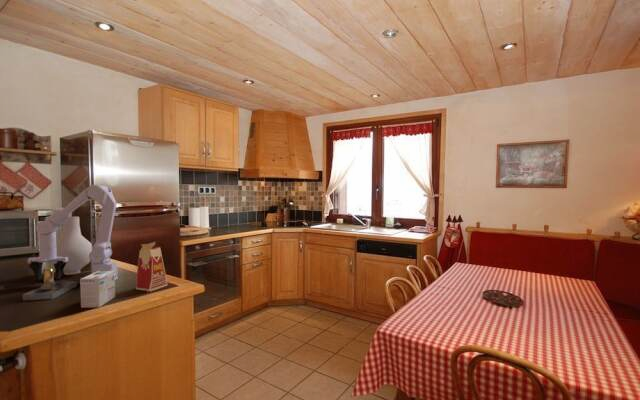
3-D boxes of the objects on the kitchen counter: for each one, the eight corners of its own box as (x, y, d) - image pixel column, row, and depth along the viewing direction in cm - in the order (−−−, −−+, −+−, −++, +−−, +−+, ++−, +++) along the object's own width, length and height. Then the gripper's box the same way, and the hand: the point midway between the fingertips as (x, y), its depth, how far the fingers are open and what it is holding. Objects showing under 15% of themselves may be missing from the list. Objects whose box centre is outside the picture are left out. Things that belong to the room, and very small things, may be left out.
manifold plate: (76, 286, 138) (76, 281, 138) (52, 299, 122) (52, 293, 122) (50, 287, 137) (50, 282, 136) (22, 300, 121) (22, 294, 121)
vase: (42, 275, 154) (41, 217, 153) (79, 267, 169) (78, 215, 168) (64, 279, 148) (62, 219, 147) (100, 270, 163) (99, 216, 162)
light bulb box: (98, 297, 125) (97, 270, 124) (116, 297, 125) (115, 270, 125) (79, 308, 114) (79, 278, 114) (99, 307, 115) (99, 278, 114)
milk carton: (167, 285, 141) (167, 240, 140) (150, 291, 132) (149, 244, 131) (151, 283, 144) (151, 239, 143) (133, 289, 135) (132, 242, 134)
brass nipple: (55, 283, 142) (55, 267, 141) (50, 285, 139) (50, 269, 138) (47, 283, 141) (46, 268, 141) (42, 286, 138) (42, 270, 138)
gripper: (22, 250, 134) (23, 281, 135) (60, 249, 137) (61, 280, 137) (34, 246, 141) (34, 277, 142) (70, 246, 143) (71, 276, 144)
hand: (48, 278), depth 140 cm, fingers open, 7 cm apart
